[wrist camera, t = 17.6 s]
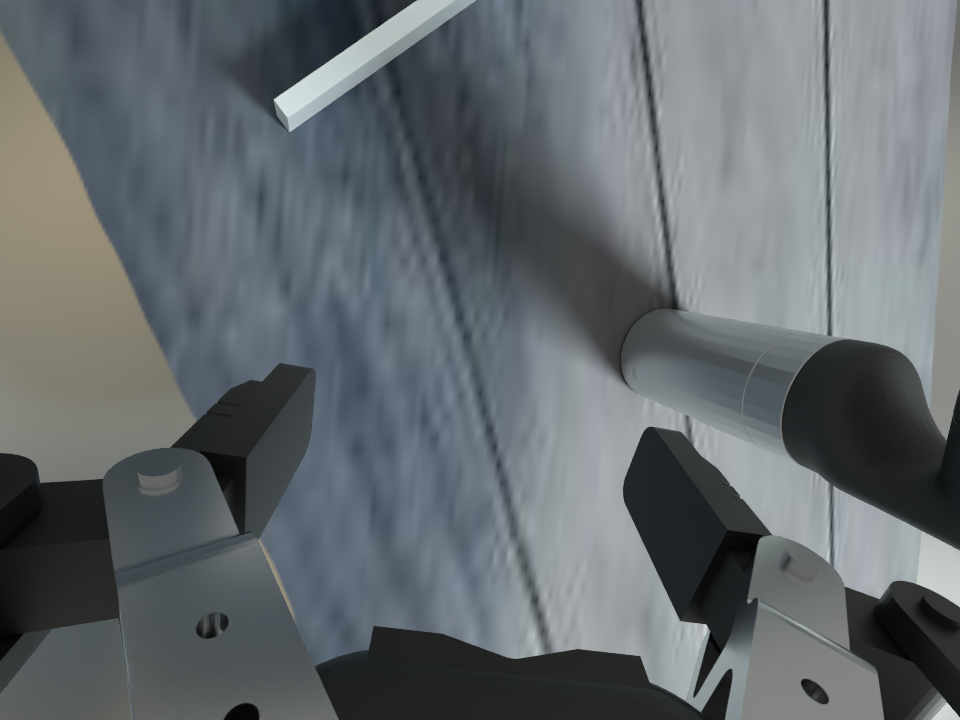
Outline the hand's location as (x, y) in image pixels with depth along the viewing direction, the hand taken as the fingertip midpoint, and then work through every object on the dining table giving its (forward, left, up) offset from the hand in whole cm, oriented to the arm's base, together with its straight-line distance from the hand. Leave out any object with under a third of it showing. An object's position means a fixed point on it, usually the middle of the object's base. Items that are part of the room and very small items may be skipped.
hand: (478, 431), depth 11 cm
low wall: (-3, -19, -28) cm, 34 cm away
